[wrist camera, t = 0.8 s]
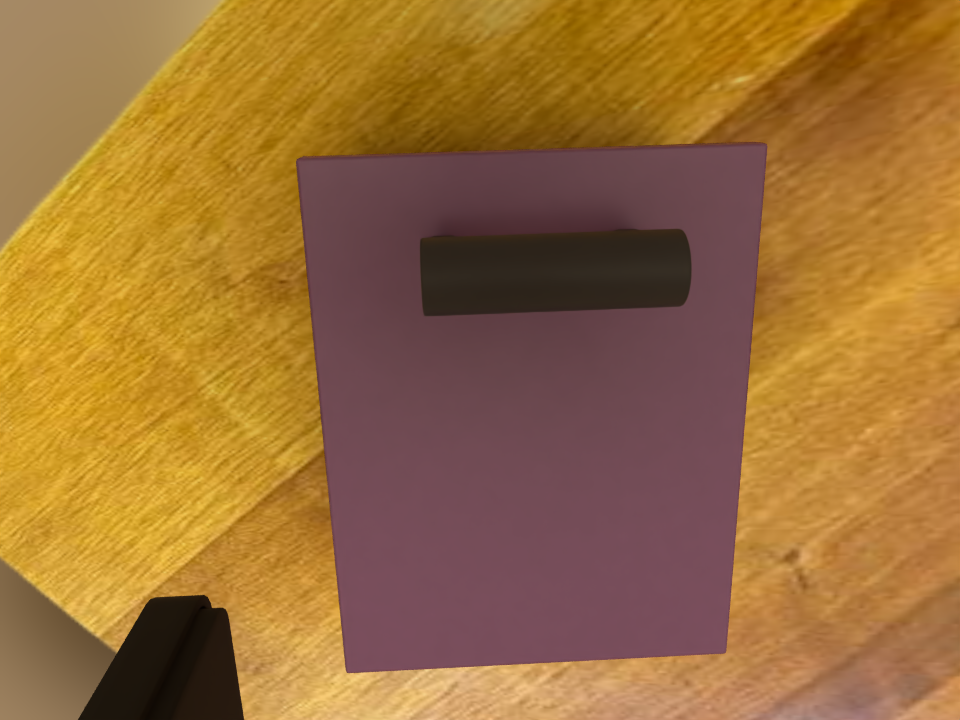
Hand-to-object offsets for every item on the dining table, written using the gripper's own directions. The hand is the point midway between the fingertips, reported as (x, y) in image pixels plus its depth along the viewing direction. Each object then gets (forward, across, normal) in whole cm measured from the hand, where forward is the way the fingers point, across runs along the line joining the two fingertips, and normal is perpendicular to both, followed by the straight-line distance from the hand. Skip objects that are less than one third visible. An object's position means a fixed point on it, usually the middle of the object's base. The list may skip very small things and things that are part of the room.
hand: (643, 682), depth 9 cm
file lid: (+15, 0, +3) cm, 16 cm away
